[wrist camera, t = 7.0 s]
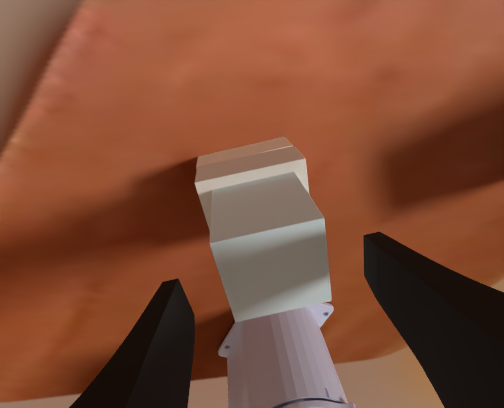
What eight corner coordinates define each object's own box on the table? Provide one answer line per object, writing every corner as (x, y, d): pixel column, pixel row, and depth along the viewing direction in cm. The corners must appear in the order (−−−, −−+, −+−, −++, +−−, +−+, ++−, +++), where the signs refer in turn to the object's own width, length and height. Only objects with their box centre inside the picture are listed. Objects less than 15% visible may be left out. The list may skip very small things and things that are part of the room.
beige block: (304, 227, 20) (315, 248, 18) (220, 245, 20) (221, 268, 18) (294, 145, 17) (305, 158, 15) (197, 166, 17) (194, 182, 15)
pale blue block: (303, 239, 17) (331, 300, 13) (231, 255, 17) (235, 322, 13) (294, 171, 15) (324, 217, 11) (212, 189, 15) (209, 243, 11)
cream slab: (295, 210, 22) (303, 227, 20) (220, 227, 22) (220, 246, 20) (284, 135, 20) (292, 145, 17) (198, 155, 20) (195, 167, 17)
